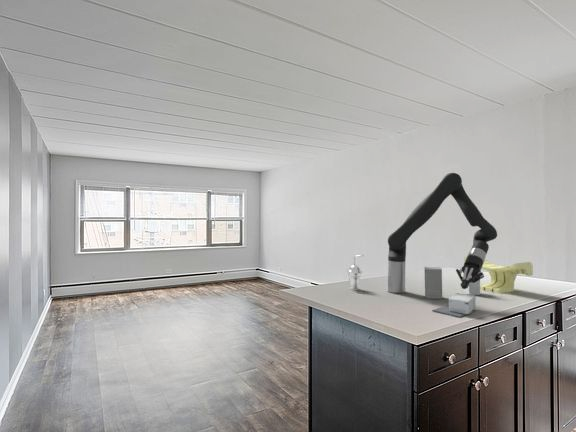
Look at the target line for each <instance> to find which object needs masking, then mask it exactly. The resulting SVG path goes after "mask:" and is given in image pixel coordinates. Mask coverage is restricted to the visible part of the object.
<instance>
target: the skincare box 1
mask: <svg viewBox="0 0 576 432" xmlns="http://www.w3.org/2000/svg"><path fill="white" fill-rule="evenodd" d="M424 297H425V299H433V300H436V299H437V300H443V270H442V268H441V267H440V266H424Z"/></svg>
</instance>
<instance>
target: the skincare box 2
mask: <svg viewBox="0 0 576 432" xmlns="http://www.w3.org/2000/svg"><path fill="white" fill-rule="evenodd" d="M476 296H477V295H469V294H467V293H455V294H454V295H452V296H451V297H449V298H448V305H449V311H451V312H457V313H463V314H468V315H470V314H471V313H470V312H471V311H472V310H476ZM469 313H470V314H469Z"/></svg>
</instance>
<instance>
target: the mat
mask: <svg viewBox="0 0 576 432" xmlns="http://www.w3.org/2000/svg"><path fill="white" fill-rule="evenodd" d="M431 311H432V312H433V313H437V312H438V313H439V314H441V313H443V314H442V315H446V314H447V315H446V316H450V315H451V316H450V317H454V316H455V317H456V318H458V317H459V318H463V317H465V316H467V315H471V314H472V313H475V312H477V309H474V310H472V311H471V312H470V313H469V314H463V313H457V312H451V311H449V304H446V305H443V306H439V307H437V308H433V309H432V310H431ZM462 316H463V317H462ZM459 318H458V319H459Z"/></svg>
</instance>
